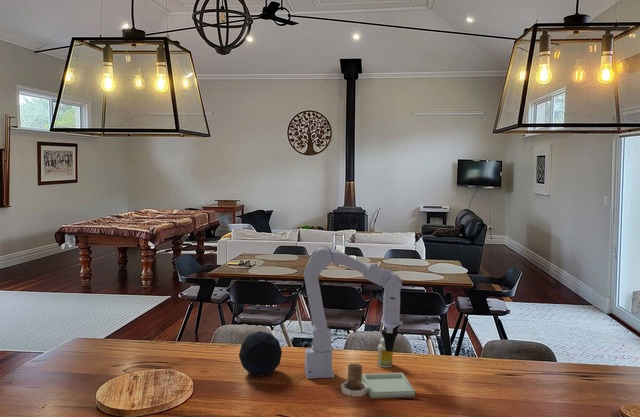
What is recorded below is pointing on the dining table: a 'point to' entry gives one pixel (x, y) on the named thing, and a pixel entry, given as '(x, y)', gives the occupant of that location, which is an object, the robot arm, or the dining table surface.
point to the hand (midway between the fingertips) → (390, 347)
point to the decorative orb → (260, 353)
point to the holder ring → (354, 392)
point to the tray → (388, 385)
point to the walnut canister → (354, 377)
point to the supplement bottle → (384, 355)
